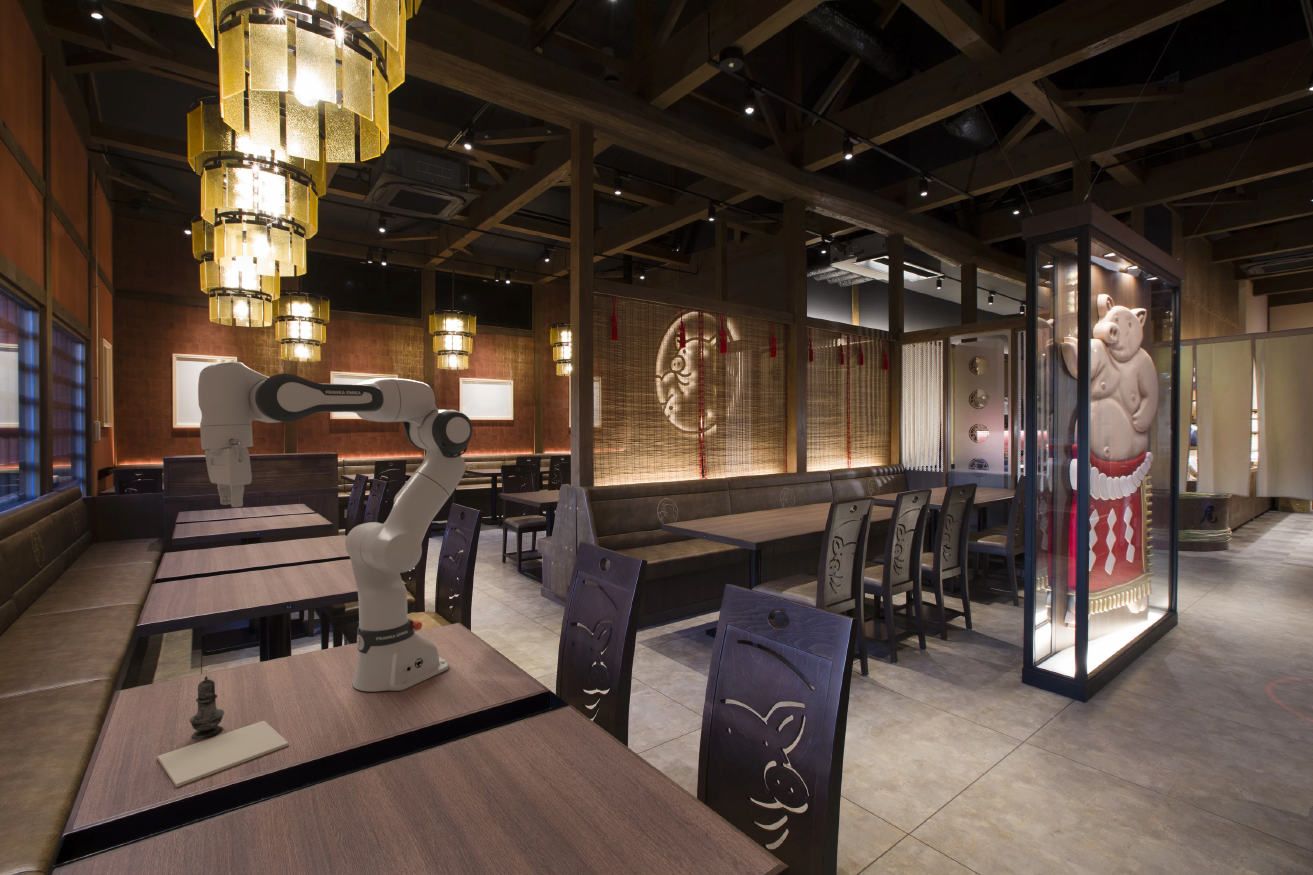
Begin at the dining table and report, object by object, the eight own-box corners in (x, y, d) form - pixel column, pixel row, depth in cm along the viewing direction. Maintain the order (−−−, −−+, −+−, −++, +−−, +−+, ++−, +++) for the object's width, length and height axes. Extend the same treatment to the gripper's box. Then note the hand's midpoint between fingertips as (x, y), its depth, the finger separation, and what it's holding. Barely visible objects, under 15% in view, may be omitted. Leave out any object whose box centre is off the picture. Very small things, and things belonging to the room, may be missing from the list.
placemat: (264, 722, 130) (264, 720, 130) (288, 745, 121) (288, 742, 121) (157, 758, 117) (157, 755, 117) (176, 787, 108) (176, 783, 108)
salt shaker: (206, 741, 123) (204, 683, 123) (182, 738, 124) (180, 680, 124) (231, 727, 129) (230, 671, 128) (208, 724, 130) (207, 669, 129)
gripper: (258, 437, 122) (262, 506, 122) (233, 439, 136) (237, 501, 136) (220, 439, 117) (224, 510, 117) (199, 441, 131) (203, 504, 132)
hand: (231, 505), depth 127 cm, fingers open, 8 cm apart
